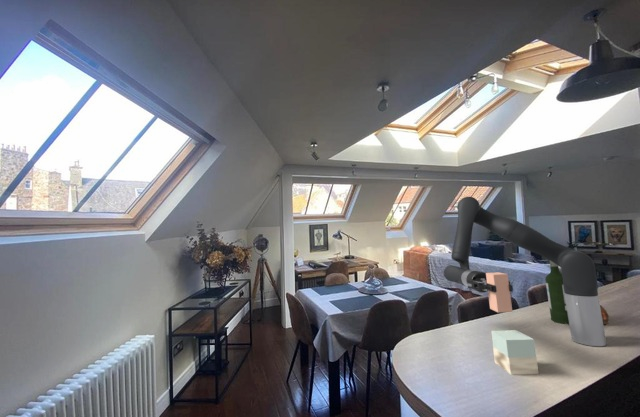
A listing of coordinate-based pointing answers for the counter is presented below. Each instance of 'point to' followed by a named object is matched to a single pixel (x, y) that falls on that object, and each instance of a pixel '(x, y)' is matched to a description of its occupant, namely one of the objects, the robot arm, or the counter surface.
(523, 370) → the tower base block
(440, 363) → the counter surface
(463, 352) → the counter surface
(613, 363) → the counter surface
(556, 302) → the wine bottle
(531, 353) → the tower top block
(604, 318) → the tin
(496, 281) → the peach block
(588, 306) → the robot arm
